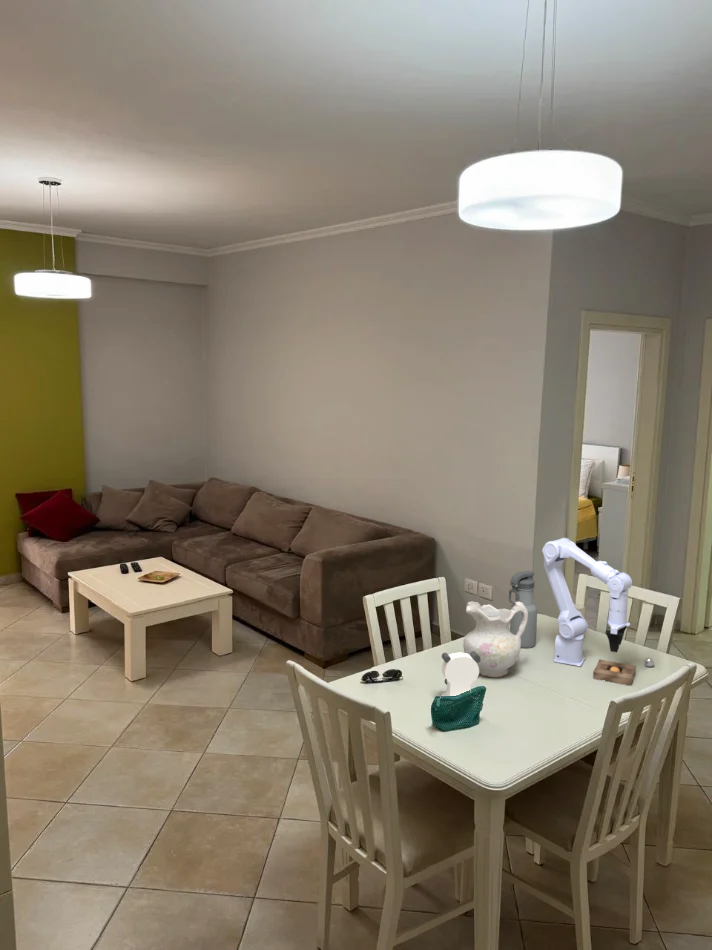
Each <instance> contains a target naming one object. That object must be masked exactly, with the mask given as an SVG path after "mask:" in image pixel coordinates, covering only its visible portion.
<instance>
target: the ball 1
mask: <svg viewBox="0 0 712 950" xmlns="http://www.w3.org/2000/svg"><path fill="white" fill-rule="evenodd" d="M610 671H614V672H620V670H619V668H618V667H612V668H611V669H610Z"/></svg>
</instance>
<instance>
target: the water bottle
mask: <svg viewBox="0 0 712 950" xmlns="http://www.w3.org/2000/svg"><path fill="white" fill-rule="evenodd" d="M534 574H535V573H534V571H531V570H525V571H517V572H515V573H514V574H513V576H512V577H511V578H510V584H509V585H510V586H511V589H509V590H508V602H509V603H510V604H511V606H510V610H511V609H512V608H513V607H514V603H515V602H517V601H520V602H521V601H522V603H524V606H525V608H526V609H527V611H528V621H527V625H526V627H525V631H524V632H523V634H522V635H521V647H520V649H531V648H534V647H535V646H536V644H537V625H538V624H537V622H538V608H537V606H536V604H534V590H535V580H534V576H535V575H534ZM512 593H514V594H515V602H514V601H513V600H512ZM521 622H522V614H521V612H519V613H516V614H515V615H514V616H513V617H512V620H511V621H510V625H509V629H510V632H511V633H512V634H514V635H516V634H517V632H518V629H519V626H520V624H521Z"/></svg>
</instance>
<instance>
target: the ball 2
mask: <svg viewBox="0 0 712 950" xmlns="http://www.w3.org/2000/svg"><path fill="white" fill-rule="evenodd" d="M643 663H644V665H645V666H646V667H648V668H650V667H653V666H654V665H655V660H654V659H653V658H652V657H649V656H648V657H646V658H645V659H644V660H643Z"/></svg>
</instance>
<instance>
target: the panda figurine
mask: <svg viewBox="0 0 712 950" xmlns="http://www.w3.org/2000/svg"><path fill="white" fill-rule="evenodd" d="M441 658H442V659H443V662H442V666H441V671H442V675H443V676H444V678H445V679H444V684H445V685H446V691H445V692H443V693H442V694H441V695H440V697H441V696H442V695H446V696H456V695H459V694H461V693H464V692H466V691H469V690H470V691H471V690H472V684H473V683H474V682H475V681H476V680H477V679H478V678H479V675H480V674H479V667H478V665H477V663H479V662H480V660H481V659H480V656H479V655H478V654H477V653H476V652H475V651H472V652H471V653H470V655H469V654H467V653H465V652H453V653H450V654H448V653H447V652H443V653H442V654H441Z"/></svg>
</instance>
